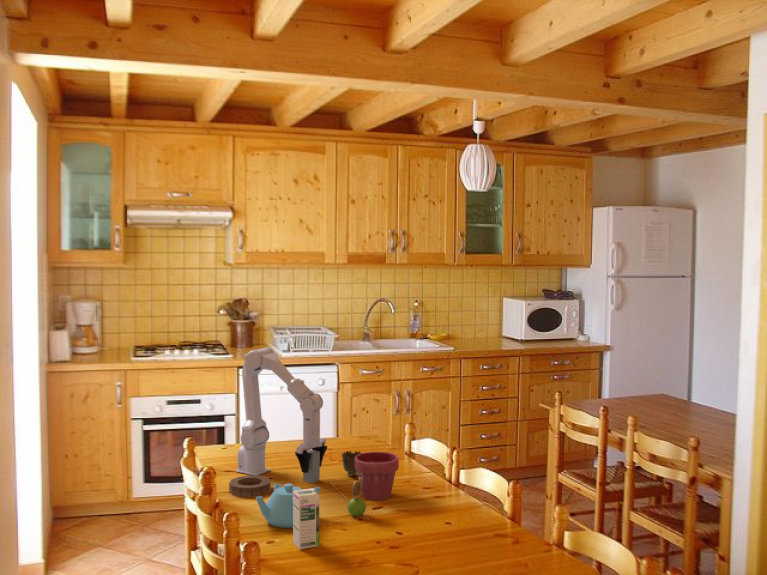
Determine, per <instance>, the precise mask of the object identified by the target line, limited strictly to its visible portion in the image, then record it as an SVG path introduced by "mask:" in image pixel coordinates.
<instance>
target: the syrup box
mask: <svg viewBox="0 0 767 575" xmlns="http://www.w3.org/2000/svg"><path fill="white" fill-rule="evenodd" d="M292 533H293V534H292V539H293V541H292V542H293V543H294V545H295V546H296V548H298V549H299V550H304V549H309V548H310V549H311V548H317V547H320V493H318V492H317V491H316V490H315V489H314V488H313V487H311V488H306V489H302V490H295V491H293V528H292Z"/></svg>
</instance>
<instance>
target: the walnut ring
mask: <svg viewBox="0 0 767 575" xmlns="http://www.w3.org/2000/svg"><path fill="white" fill-rule="evenodd" d="M271 484H272V482H271V479H270V478H269V477H267V476H262V475H257V476H255V475H244V476H238V477H235V478H232V479H231V480H230V481H229V483H228V486H229V488H228V492H229V494H231V495H232V496H235V497H240V498H256V497H259V496H261V497H263V496H264V495H267V494H269V493H270V491H271V490H272V489H271V488H272V487H271Z"/></svg>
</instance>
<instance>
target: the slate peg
mask: <svg viewBox="0 0 767 575" xmlns="http://www.w3.org/2000/svg"><path fill="white" fill-rule="evenodd" d="M307 452H308V453H311V454H312V455H311V457H310V461H309V469H308V473H304V472H302V481H303V482H304V483H309V484H314V483H316V482H319V481H320V479H321V478H320V475H321V474H320V472H321V471H320V468H321V467H320V451H314V450H312V449H310V450H307Z"/></svg>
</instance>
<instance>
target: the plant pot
mask: <svg viewBox="0 0 767 575" xmlns="http://www.w3.org/2000/svg"><path fill="white" fill-rule="evenodd" d="M399 467H400V466H399V455H397V454H394V453H391V452H385V451H368V452H367V451H366V452H361V454H358V455H357V456H356V457H355V470H356V471H358V472H357V473H358V474H357V476H358V478H359V477H362V478H363V480H362V490H361V495H362V498H364V499H366V500H369V501H383V500H388V499H390V498H391V495H392V491H393V487H394V482H395V477H396V472H397V471H398V470H399ZM359 473H363V475H361V474H359Z"/></svg>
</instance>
